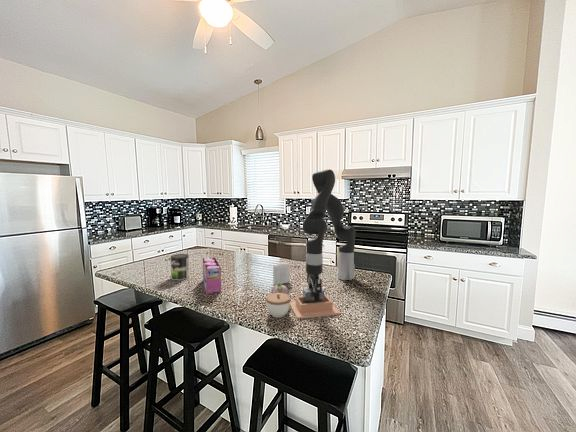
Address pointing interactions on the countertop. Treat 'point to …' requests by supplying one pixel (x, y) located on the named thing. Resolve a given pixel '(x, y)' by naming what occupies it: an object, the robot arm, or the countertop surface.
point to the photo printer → (281, 273)
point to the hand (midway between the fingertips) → (313, 296)
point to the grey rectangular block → (311, 296)
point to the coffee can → (179, 267)
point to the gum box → (211, 275)
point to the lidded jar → (278, 304)
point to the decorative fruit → (280, 289)
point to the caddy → (313, 308)
